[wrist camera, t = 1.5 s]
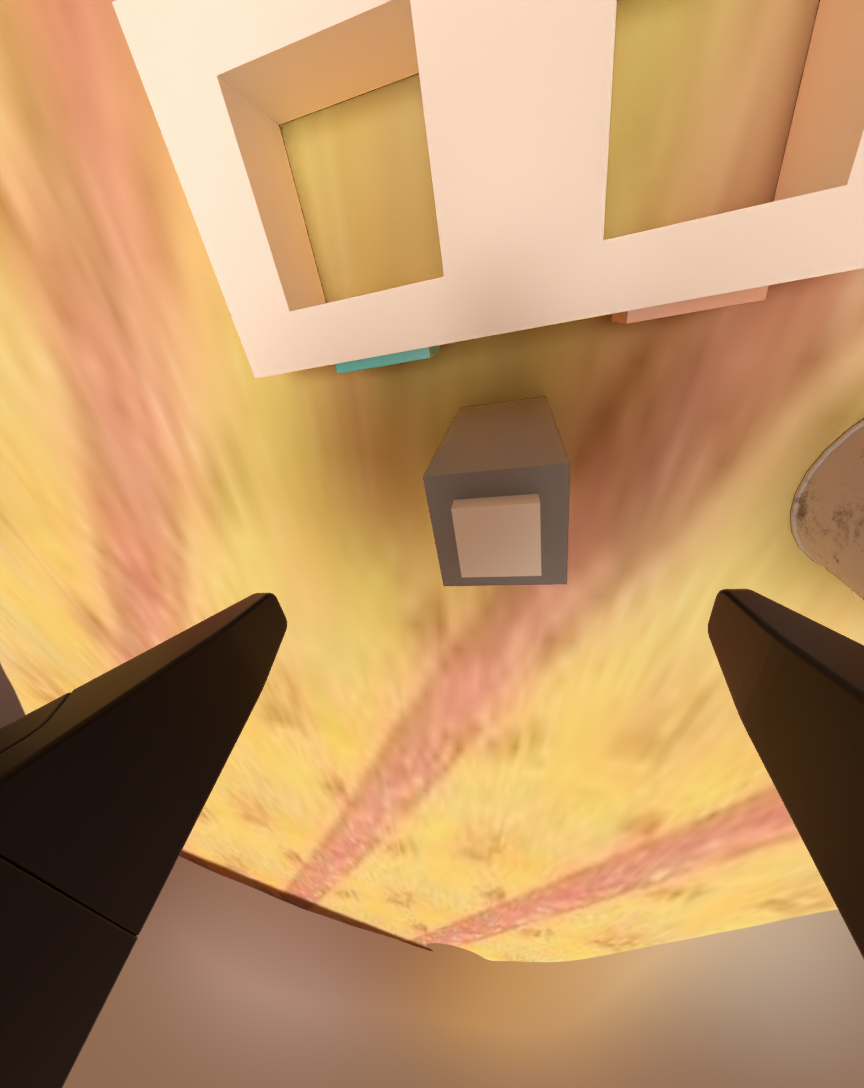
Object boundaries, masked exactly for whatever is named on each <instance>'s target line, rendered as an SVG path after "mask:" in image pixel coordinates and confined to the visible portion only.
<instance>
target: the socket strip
mask: <svg viewBox="0 0 864 1088" xmlns="http://www.w3.org/2000/svg"><path fill="white" fill-rule="evenodd" d="M112 4H113V6H114V9H115V11H116V14H117V17H118V19H119V22H120V25H121V27H122V30H123V32H124V35H125V38H126V40H127V43H128V46H129V48H130V51H131V53H132V56H133V59H134V61H135V64H136V67H137V69H138V72H139V74H140V77H141V80H142V82H143V85H144V88H145V90H146V93H147V95H148V98H149V101H150V103H151V106H152V109H153V111H154V114H155V116H156V119H157V122H158V124H159V127H160V130H161V132H162V135H163V138H164V140H165V143H166V145H167V148H168V151H169V153H170V156H171V159H172V161H173V164H174V166H175V169H176V172H177V174H178V177H179V180H180V182H181V185H182V187H183V190H184V193H185V195H186V198H187V201H188V203H189V206H190V208H191V211H192V214H193V216H194V219H195V222H196V224H197V227H198V229H199V232H200V235H201V237H202V240H203V243H204V245H205V248H206V250H207V253H208V256H209V258H210V261H211V264H212V266H213V269H214V271H215V274H216V277H217V279H218V282H219V285H220V287H221V290H222V292H223V295H224V298H225V300H226V303H227V306H228V308H229V311H230V314H231V316H232V319H233V321H234V324H235V327H236V329H237V332H238V335H239V337H240V340H241V342H242V345H243V348H244V350H245V353H246V356H247V358H248V361H249V363H250V366H251V369H252V371H253V374H254V377H255V378H260V377H266V376H271V375H277V374H282V373H288V372H293V371H299V370H305V369H310V368H316V367H321V366H327V365H332V364H335V367H336V370H337V374H340V373H346V372H352V371H357V370H363V369H369V368H375V367H380V366H386V365H392V364H398V363H403V362H409V361H415V360H421V359H427V358H431V357H433V356H434V355H436V354H438V353H439V352H440V346H439V345H442V344H448V343H453V342H459V341H465V340H470V339H476V338H481V337H487V336H492V335H498V334H503V333H509V332H514V331H520V330H525V329H531V328H536V327H542V326H547V325H553V324H558V323H564V322H569V321H575V320H580V319H586V318H591V317H597V316H602V315H608V314H612V320H611V322H617V323H625V324H628V323H634V322H640V321H645V320H651V319H657V318H663V317H668V316H674V315H680V314H686V313H692V312H697V311H703V310H709V309H715V308H720V307H726V306H732V305H738V304H743V303H749V302H755V301H761V300H765V298H766V294H767V290H768V286H769V285H773V284H779V283H785V282H790V281H796V280H801V279H807V278H812V277H818V276H823V275H829V274H834V273H840V272H845V271H851V270H856V269H862V268H864V0H820V3H819V7H818V11H817V16H816V20H815V24H814V29H813V33H812V37H811V42H810V46H809V50H808V54H807V59H806V63H805V67H804V72H803V76H802V80H801V85H800V89H799V93H798V98H797V102H796V106H795V111H794V115H793V119H792V124H791V128H790V132H789V136H788V141H787V145H786V149H785V154H784V158H783V162H782V167H781V171H780V175H779V180H778V184H777V188H776V193H775V197H774V201H773V202H770V203H765V204H761V205H756V206H752V207H748V208H743V209H739V210H734V211H730V212H726V213H721V214H717V215H712V216H708V217H704V218H699V219H695V220H690V221H686V222H682V223H677V224H673V225H668V226H664V227H660V228H655V229H651V230H647V231H642V232H638V233H633V234H629V235H625V236H620V237H616V238H611V239H607V240H603V237H604V219H605V201H606V183H607V165H608V147H609V130H610V112H611V94H612V76H613V58H614V40H615V23H616V5H617V0H116V1H114V2H112ZM417 73H419V77H420V85H421V93H422V101H423V109H424V118H425V126H426V134H427V142H428V150H429V158H430V167H431V175H432V183H433V191H434V199H435V207H436V216H437V224H438V232H439V240H440V248H441V256H442V265H443V273H444V277H440V278H435V279H431V280H427V281H422V282H418V283H413V284H409V285H405V286H400V287H396V288H391V289H387V290H383V291H378V292H374V293H369V294H365V295H361V296H356V297H352V298H347V299H343V300H339V301H334V302H330V303H326V301H325V297H324V293H323V289H322V286H321V282H320V278H319V274H318V271H317V267H316V263H315V259H314V255H313V252H312V248H311V244H310V240H309V236H308V233H307V229H306V225H305V221H304V218H303V214H302V210H301V206H300V202H299V199H298V195H297V191H296V187H295V183H294V180H293V176H292V172H291V168H290V165H289V161H288V157H287V153H286V149H285V146H284V142H283V138H282V134H281V130H280V127H279V125H281V124H283V123H286V122H289V121H291V120H294V119H297V118H299V117H302V116H305V115H307V114H310V113H313V112H315V111H318V110H321V109H323V108H326V107H329V106H332V105H334V104H337V103H340V102H342V101H345V100H348V99H350V98H353V97H356V96H358V95H361V94H364V93H366V92H369V91H372V90H374V89H377V88H380V87H383V86H385V85H388V84H391V83H393V82H396V81H399V80H401V79H404V78H407V77H409V76H412V75H415V74H417Z"/></svg>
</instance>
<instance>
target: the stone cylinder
mask: <svg viewBox="0 0 864 1088" xmlns="http://www.w3.org/2000/svg"><path fill="white" fill-rule="evenodd" d="M790 516H791V531H792V533H793V536H794V538H795V540H796V542H797V544H798V546H799V548H800V549H801V550H802V551H803V552H805V553H806V554H807V555H808V556H809V557H810V558H811V559H812V560H813V561H815V562H817V563H819V564H820V565H822V566H824V567H825V568H826V569H827V570H828V571H830V572H831V573H832V574H833V575H834V576H836V577H837V578H838V579H839V580H841V581H842V582H843V583H844V584H845V585H847V586H848V587H849V588H850V589H851V590H853V591H854V592H855V593H856V594H857V595H859V596H860V597H861V598H862V599H863V600H864V419H863V420H861V421H860V422H858V423H857V424H855V425H854V426H852V427H850V428H849V429H848V430H847V431H846V432H845V433H844V434H842V435H841V436H840V437H839V438H838V439H837V440H836V441H834V442H833V443H832V444H831V445H830V446H829V447H828V448H826V449H825V451H824V452H823V453H822V454H821V455H820V457H819V458H818V459H817V460H816V461H815V463H814V464H813V465H812V466H811V467H810V469H809V470H808V471H807V473H806V474H805V476H804V478H803V480H802V482H801V484H800V485H799V487H798V489H797V491H796V493H795V496H794V500H793V504H792V508H791V512H790Z"/></svg>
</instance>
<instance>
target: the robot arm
mask: <svg viewBox="0 0 864 1088" xmlns="http://www.w3.org/2000/svg"><path fill="white" fill-rule="evenodd" d="M286 628H287V620H286V617H285V615H284V613H283V610H282V608H281V606H280V604H279V602H278V600H277V598H276V596H275V595H274V594H272V593H255V594H253V595H251V596H249V597H247V598H245V599H243V600H241V601H239V602H238V603H236V604H234V605H232V606H230V607H228V608H226V609H224V610H223V611H221V612H219V613H217V614H215V615H213V616H211V617H209V618H208V619H206V620H204V621H202V622H200V623H198V624H196V625H194V626H193V627H191V628H189V629H187V630H185V631H183V632H181V633H179V634H178V635H176V636H174V637H172V638H170V639H168V640H166V641H164V642H163V643H161V644H159V645H157V646H155V647H153V648H151V649H149V650H148V651H146V652H144V653H142V654H140V655H138V656H136V657H134V658H133V659H131V660H129V661H127V662H125V663H123V664H121V665H119V666H118V667H116V668H114V669H112V670H110V671H108V672H106V673H104V674H103V675H101V676H99V677H97V678H95V679H93V680H91V681H89V682H88V683H86V684H84V685H82V686H80V687H78V688H76V689H74V690H73V691H72V693H67V694H65V695H63V696H61V697H59V698H57V699H56V700H54V701H52V702H50V703H48V704H46V705H44V706H42V707H40V708H39V709H37V710H35V711H33V712H31V713H29V714H27V715H25V716H23V717H21V718H19V719H17V720H16V721H14V722H12V723H10V724H8V725H6V726H4V727H2V728H0V1088H62V1087H63V1085H64V1083H65V1081H66V1079H67V1077H68V1075H69V1073H70V1072H71V1070H72V1067H73V1066H74V1063H75V1062H76V1060H77V1057H78V1056H79V1054H80V1052H81V1050H82V1048H83V1046H84V1044H85V1042H86V1040H87V1038H88V1036H89V1034H90V1032H91V1030H92V1028H93V1026H94V1024H95V1022H96V1020H97V1018H98V1016H99V1014H100V1012H101V1010H102V1008H103V1006H104V1004H105V1002H106V1000H107V998H108V996H109V994H110V992H111V990H112V988H113V986H114V984H115V982H116V980H117V978H118V976H119V974H120V972H121V970H122V968H123V966H124V964H125V962H126V960H127V958H128V956H129V954H130V952H131V950H132V948H133V946H134V944H135V942H136V940H137V938H138V937H137V935H139V933H140V932H141V930H142V928H143V925H144V924H145V922H146V920H147V918H148V916H149V914H150V912H151V910H152V908H153V906H154V904H155V902H156V900H157V898H158V896H159V894H160V892H161V890H162V888H163V886H164V884H165V882H166V880H167V878H168V876H169V874H170V872H171V870H172V868H173V866H174V864H175V862H176V860H177V858H178V856H179V854H180V853H181V851H182V849H183V847H184V845H185V843H186V841H187V839H188V837H189V835H190V833H191V831H192V829H193V827H194V825H195V823H196V821H197V819H198V817H199V815H200V813H201V811H202V809H203V807H204V805H205V803H206V801H207V799H208V797H209V795H210V793H211V791H212V789H213V787H214V785H215V783H216V781H217V779H218V777H219V775H220V773H221V771H222V769H223V767H224V765H225V763H226V761H227V759H228V757H229V755H230V753H231V751H232V749H233V747H234V745H235V743H236V742H237V740H238V738H239V736H240V734H241V732H242V730H243V728H244V726H245V724H246V722H247V720H248V718H249V716H250V714H251V712H252V710H253V708H254V706H255V704H256V702H257V700H258V698H259V696H260V694H261V692H262V689H263V687H264V685H265V682H266V680H267V677H268V675H269V672H270V670H271V667H272V665H273V662H274V660H275V657H276V654H277V652H278V649H279V647H280V644H281V642H282V639H283V637H284V634H285V632H286ZM708 634H709V638H710V640H711V643H712V646H713V648H714V651H715V654H716V656H717V659H718V662H719V664H720V667H721V669H722V672H723V675H724V677H725V680H726V683H727V685H728V688H729V691H730V693H731V696H732V699H733V701H734V704H735V706H736V709H737V711H738V714H739V716H740V718H741V720H742V722H743V724H744V727H745V729H746V731H747V733H748V735H749V737H750V739H751V741H752V742H753V744H754V746H755V748H756V750H757V752H758V754H759V756H760V758H761V760H762V762H763V764H764V766H765V768H766V770H767V772H768V774H769V776H770V777H771V779H772V781H773V783H774V785H775V787H776V789H777V791H778V793H779V795H780V797H781V799H782V801H783V803H784V805H785V807H786V809H787V811H788V813H789V814H790V816H791V818H792V820H793V822H794V824H795V826H796V828H797V830H798V832H799V834H800V836H801V838H802V840H803V842H804V844H805V846H806V848H807V849H808V851H809V853H810V855H811V857H812V859H813V861H814V863H815V865H816V867H817V869H818V871H819V873H820V875H821V877H822V879H823V881H824V883H825V885H826V886H827V888H828V890H829V892H830V894H831V896H832V898H833V900H834V902H835V904H836V906H837V908H838V910H839V912H840V913H841V916H842V918H843V919H844V921H845V923H846V925H847V927H848V929H849V931H850V933H851V935H852V937H853V939H854V941H855V943H856V945H857V947H858V949H859V951H860V953H861V955H862V956H863V958H864V646H863V645H861V644H859V643H857V642H855V641H853V640H851V639H849V638H847V637H845V636H843V635H841V634H839V633H837V632H835V631H833V630H831V629H829V628H827V627H825V626H823V625H821V624H819V623H817V622H815V621H813V620H811V619H809V618H807V617H805V616H803V615H801V614H799V613H797V612H795V611H793V610H791V609H789V608H787V607H785V606H783V605H781V604H779V603H776V602H774V601H772V600H770V599H768V598H766V597H764V596H762V595H760V594H758V593H756V592H754V591H752V590H749V589H723V590H721V591H719V593H718V594H717V596H716V599H715V602H714V606H713V609H712V612H711V616H710V619H709V623H708Z"/></svg>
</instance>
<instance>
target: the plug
mask: <svg viewBox="0 0 864 1088" xmlns="http://www.w3.org/2000/svg"><path fill="white" fill-rule="evenodd" d="M423 479H424V485H425V490H426V495H427V501H428V506H429V511H430V516H431V522H432V527H433V532H434V538H435V543H436V548H437V553H438V559H439V564H440V569H441V575H442V580H443V585H444V586H481V585H544V584H567V560H568V522H569V483H570V462H569V459H568V456H567V454H566V451H565V448H564V445H563V443H562V440H561V437H560V435H559V432H558V429H557V427H556V424H555V421H554V418H553V416H552V413H551V410H550V408H549V405H548V402H547V399H546V397H545V396H543V397H536V398H529V399H521V400H514V401H507V402H499V403H492V404H485V405H477V406H470V407H463V408H460V410H459V411H458V413H457V415H456V417H455V419H454V421H453V422H452V424H451V426H450V428H449V430H448V432H447V433H446V435H445V437H444V439H443V441H442V443H441V445H440V446H439V448H438V450H437V452H436V454H435V456H434V457H433V459H432V461H431V463H430V465H429V467H428V468H427V470H426V472H425V474H424V476H423Z"/></svg>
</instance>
